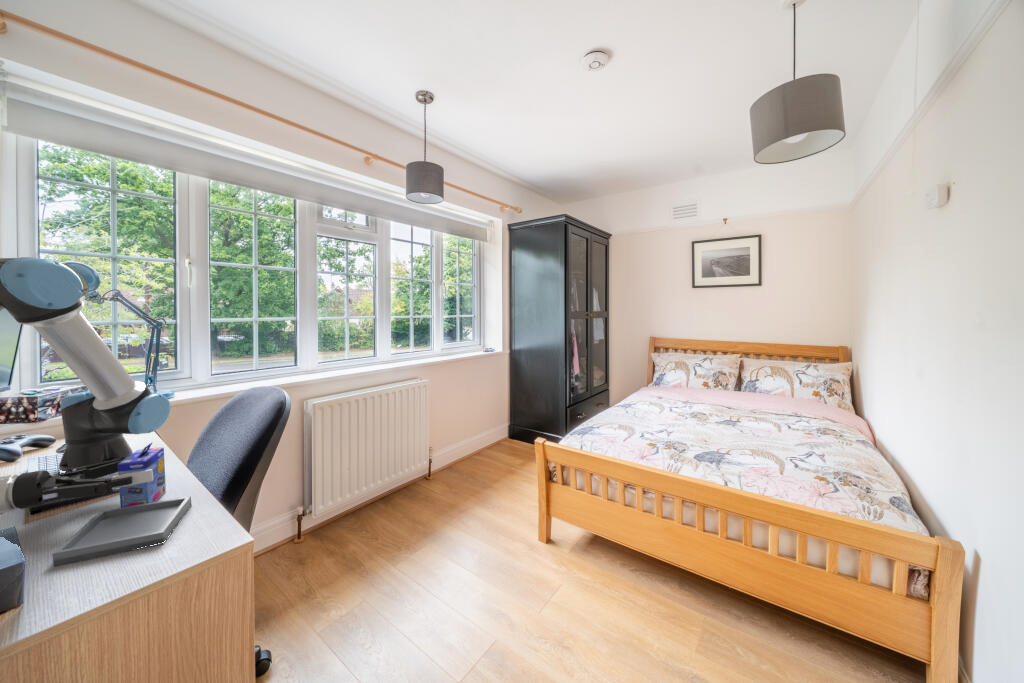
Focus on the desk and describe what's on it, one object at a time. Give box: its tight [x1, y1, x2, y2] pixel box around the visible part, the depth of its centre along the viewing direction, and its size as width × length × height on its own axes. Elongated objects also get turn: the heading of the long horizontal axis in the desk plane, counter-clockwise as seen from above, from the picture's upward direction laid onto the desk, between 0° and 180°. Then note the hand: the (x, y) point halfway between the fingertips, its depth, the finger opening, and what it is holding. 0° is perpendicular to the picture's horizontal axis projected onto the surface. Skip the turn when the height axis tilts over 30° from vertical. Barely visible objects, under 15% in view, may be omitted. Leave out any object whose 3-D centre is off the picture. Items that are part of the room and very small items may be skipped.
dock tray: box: [51, 495, 192, 567], centre depth 81 cm, size 16×16×2 cm
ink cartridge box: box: [117, 442, 167, 508], centre depth 93 cm, size 10×6×14 cm, turn 24°
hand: (157, 466), depth 94 cm, fingers closed on ink cartridge box, 10 cm apart
